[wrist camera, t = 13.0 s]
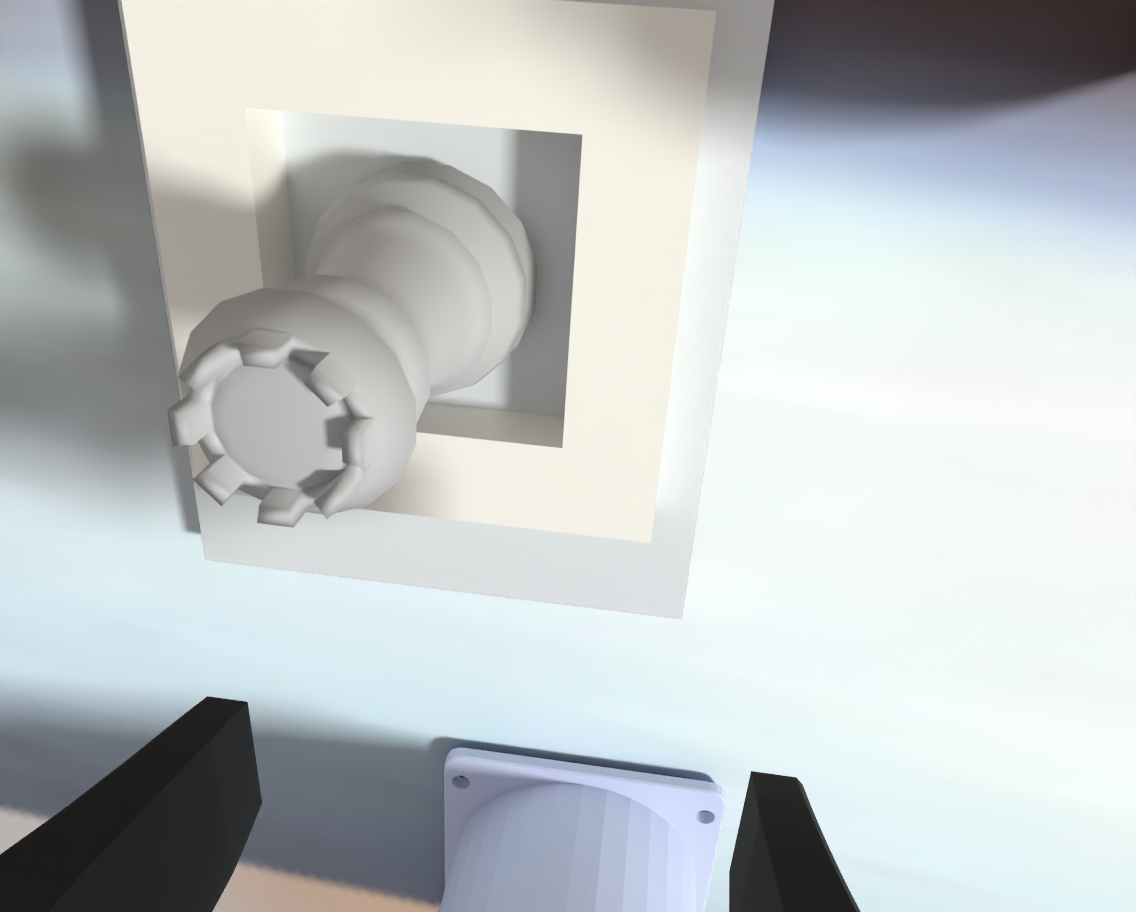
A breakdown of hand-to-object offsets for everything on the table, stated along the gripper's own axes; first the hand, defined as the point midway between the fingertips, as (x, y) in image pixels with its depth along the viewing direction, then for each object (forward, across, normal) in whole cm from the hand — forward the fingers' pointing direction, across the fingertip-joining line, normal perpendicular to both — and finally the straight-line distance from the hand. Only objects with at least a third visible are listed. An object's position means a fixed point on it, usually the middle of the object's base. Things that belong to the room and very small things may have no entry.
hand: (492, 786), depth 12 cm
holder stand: (+9, +3, -5) cm, 11 cm away
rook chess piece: (+9, +3, -5) cm, 10 cm away
